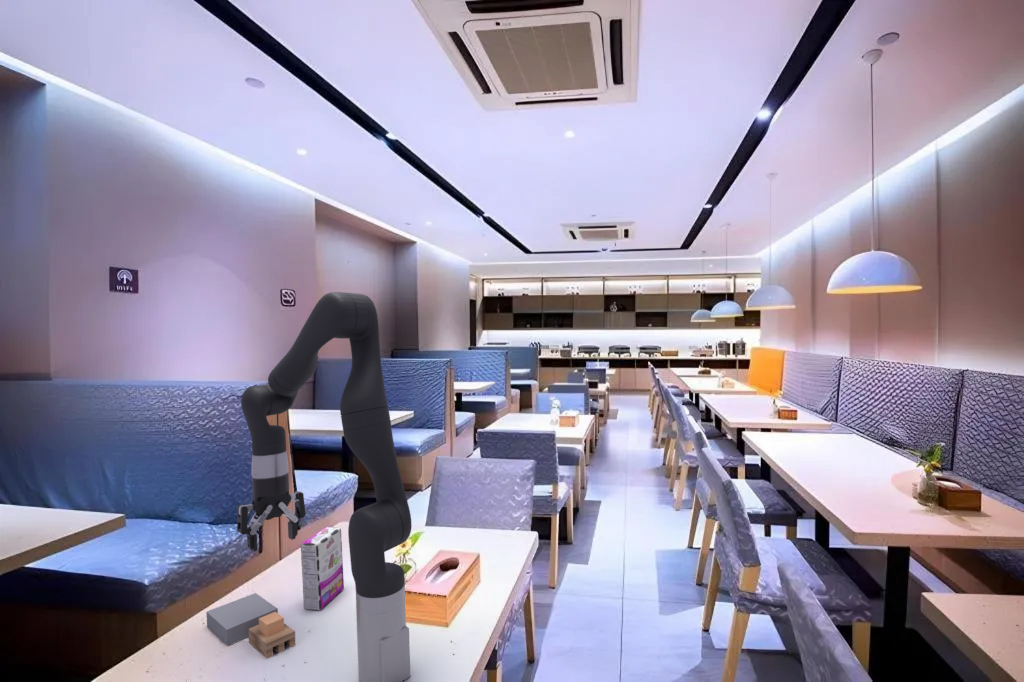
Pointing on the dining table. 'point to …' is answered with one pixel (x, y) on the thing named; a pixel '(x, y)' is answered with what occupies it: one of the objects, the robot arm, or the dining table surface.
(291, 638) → the pallet
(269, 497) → the robot arm
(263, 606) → the dock
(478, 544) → the dining table surface
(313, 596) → the candy bar box
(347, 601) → the dining table surface
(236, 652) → the dining table surface
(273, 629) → the block
